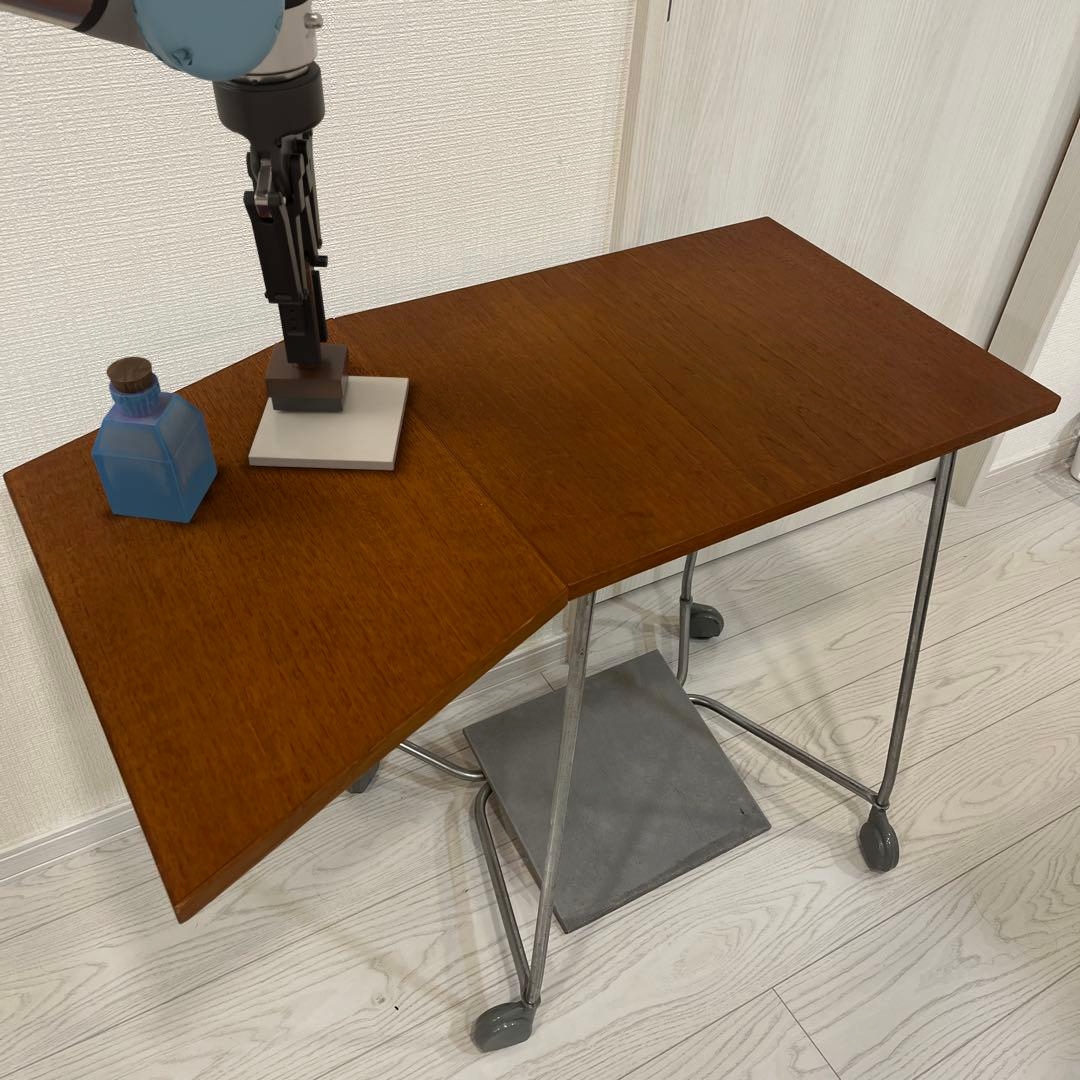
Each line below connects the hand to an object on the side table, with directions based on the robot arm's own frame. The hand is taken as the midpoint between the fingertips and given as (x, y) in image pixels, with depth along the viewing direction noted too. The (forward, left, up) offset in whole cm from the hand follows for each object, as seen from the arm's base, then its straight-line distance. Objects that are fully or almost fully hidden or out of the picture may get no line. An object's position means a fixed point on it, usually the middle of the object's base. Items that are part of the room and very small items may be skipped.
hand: (308, 349), depth 87 cm
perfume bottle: (-10, -12, -6) cm, 17 cm away
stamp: (0, 0, -5) cm, 5 cm away
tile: (+2, -3, -6) cm, 7 cm away
